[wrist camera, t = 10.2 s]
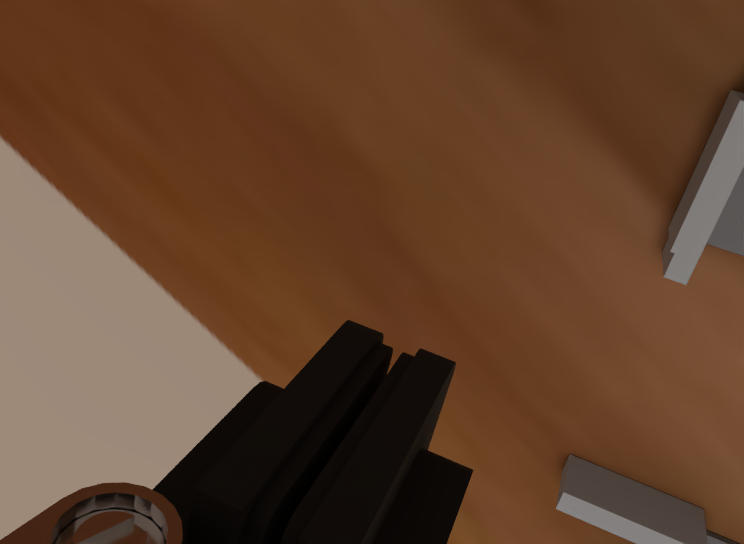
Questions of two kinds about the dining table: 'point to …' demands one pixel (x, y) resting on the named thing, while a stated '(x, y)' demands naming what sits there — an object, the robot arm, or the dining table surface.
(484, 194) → the dining table surface
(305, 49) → the dining table surface
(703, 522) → the channel
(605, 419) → the dining table surface
